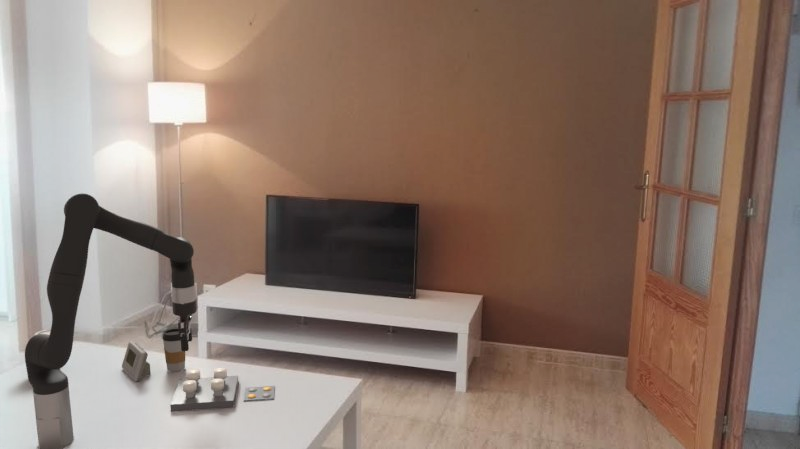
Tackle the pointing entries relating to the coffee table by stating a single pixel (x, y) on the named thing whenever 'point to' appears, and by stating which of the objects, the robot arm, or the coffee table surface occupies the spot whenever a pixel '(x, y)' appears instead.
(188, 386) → the button
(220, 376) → the button
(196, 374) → the button
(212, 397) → the board
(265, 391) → the card
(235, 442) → the coffee table surface
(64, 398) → the robot arm
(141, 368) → the digital clock
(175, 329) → the coffee cup
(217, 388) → the button
